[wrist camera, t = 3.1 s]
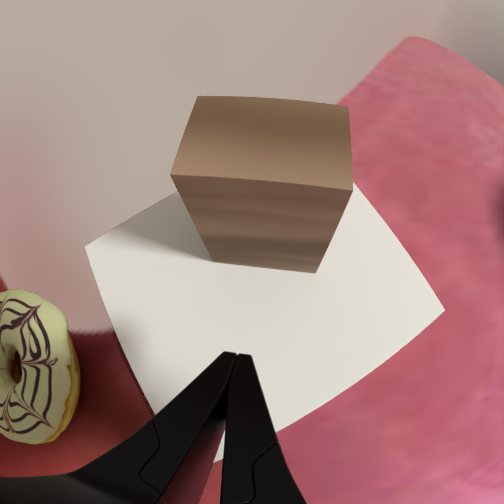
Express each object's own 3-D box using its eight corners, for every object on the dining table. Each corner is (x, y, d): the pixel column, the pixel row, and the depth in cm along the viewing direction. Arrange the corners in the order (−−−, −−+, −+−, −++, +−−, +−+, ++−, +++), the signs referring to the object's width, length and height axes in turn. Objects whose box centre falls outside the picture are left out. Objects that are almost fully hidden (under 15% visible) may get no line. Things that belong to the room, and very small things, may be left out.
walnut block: (315, 273, 18) (353, 190, 9) (213, 262, 18) (170, 174, 10) (319, 212, 19) (347, 106, 11) (224, 203, 20) (197, 96, 11)
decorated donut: (87, 289, 19) (56, 272, 16) (104, 446, 15) (73, 457, 12) (-5, 304, 19) (-36, 292, 15) (4, 431, 15) (-28, 433, 12)
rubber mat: (440, 311, 17) (444, 310, 16) (192, 469, 15) (190, 472, 14) (304, 134, 22) (305, 129, 22) (88, 250, 20) (84, 246, 19)
